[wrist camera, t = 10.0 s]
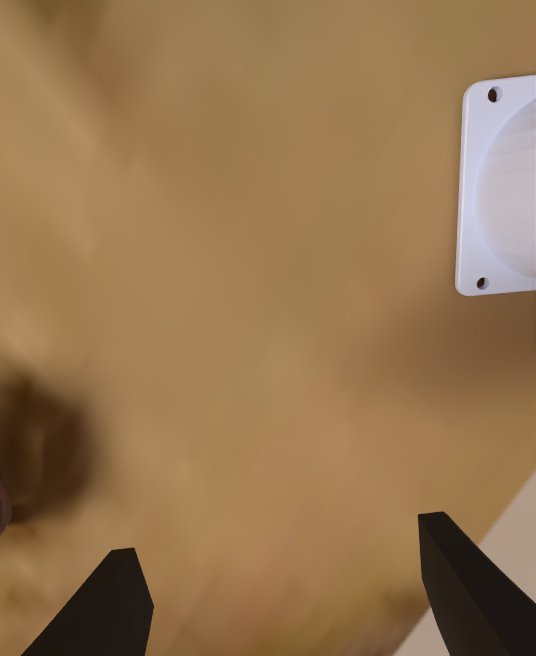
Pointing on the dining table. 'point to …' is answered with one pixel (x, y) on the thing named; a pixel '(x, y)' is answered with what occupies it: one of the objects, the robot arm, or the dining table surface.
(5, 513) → the pottery mug
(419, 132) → the dining table surface
